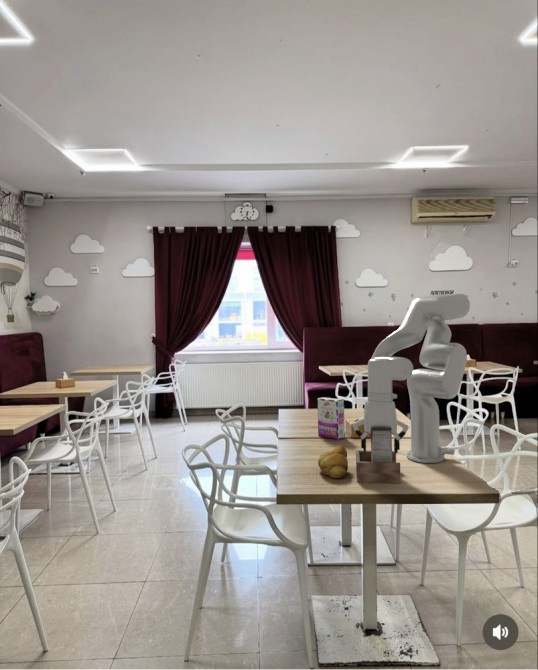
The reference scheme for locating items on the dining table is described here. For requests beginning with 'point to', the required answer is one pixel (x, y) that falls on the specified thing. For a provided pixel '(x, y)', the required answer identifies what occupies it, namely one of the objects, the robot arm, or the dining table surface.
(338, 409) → the candy bar box
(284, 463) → the dining table surface
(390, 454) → the coffee box
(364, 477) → the open side box
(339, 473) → the bread roll
